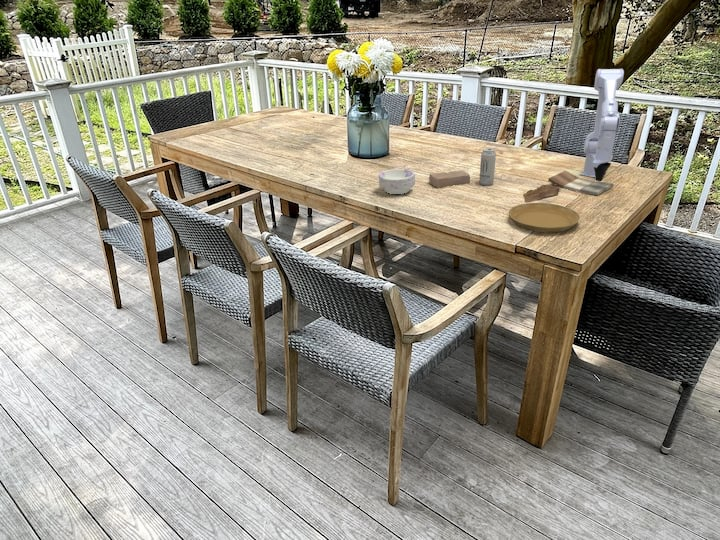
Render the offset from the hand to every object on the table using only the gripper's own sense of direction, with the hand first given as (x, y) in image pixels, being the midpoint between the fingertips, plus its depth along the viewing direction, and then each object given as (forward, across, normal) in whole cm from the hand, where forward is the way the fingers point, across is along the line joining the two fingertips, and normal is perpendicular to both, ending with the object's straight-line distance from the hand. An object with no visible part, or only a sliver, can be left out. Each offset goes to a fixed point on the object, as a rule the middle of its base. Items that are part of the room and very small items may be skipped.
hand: (598, 180), depth 209 cm
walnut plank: (+3, 0, -15) cm, 15 cm away
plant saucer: (+4, +44, 0) cm, 44 cm away
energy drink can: (+4, +22, -39) cm, 45 cm away
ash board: (+4, 0, -8) cm, 9 cm away
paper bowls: (+4, +54, -62) cm, 82 cm away
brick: (+5, +31, -52) cm, 60 cm away
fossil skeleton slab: (+4, +18, -15) cm, 24 cm away
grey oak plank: (+4, 0, 0) cm, 4 cm away
